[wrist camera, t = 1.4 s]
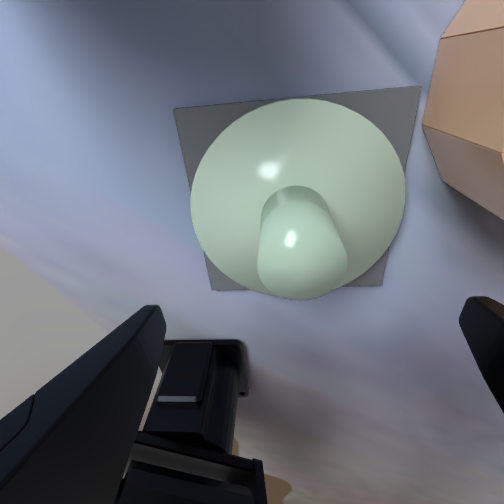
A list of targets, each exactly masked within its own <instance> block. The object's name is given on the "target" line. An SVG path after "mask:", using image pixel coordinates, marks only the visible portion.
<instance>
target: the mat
mask: <svg viewBox="0 0 504 504" xmlns="http://www.w3.org/2000/svg"><path fill="white" fill-rule="evenodd" d="M421 87H422V86H409V87H398V88H388V89H377V90H366V91H356V92H345V93H334V94H324V95H313V96H303V97H292V98H312V99H320V100H326V101H329V102H333V103H336V104H340V105H342V106H344V107H346V108H348V109H350V110H352V111H355V112H357V113H359V114H360V115H362V116H363V117H364V118H366V119H367V120H369V121H370V122H372V123H373V124H374V125H375V126H376V127H377V128H378V129H379V130H380V131H381V132H382V133H383V134H384V135H385V136H386V138H387V139H388V140H389V142H390V143H391V144H392V146H393V148H394V150H395V152H396V154H397V155H398V157H399V160H400V163H401V166H402V169H403V173H404V170H405V166H406V161H407V156H408V151H409V146H410V141H411V136H412V131H413V126H414V121H415V116H416V111H417V106H418V102H419V97H420V92H421ZM285 99H291V98H281V99H271V100H260V101H249V102H239V103H228V104H217V105H207V106H196V107H186V108H176V109H173V111H174V116H175V121H176V125H177V130H178V135H179V139H180V144H181V149H182V153H183V158H184V163H185V167H186V172H187V177H188V181H189V186H190V191H192V184H193V181H194V177H195V174H196V171H197V169H198V166H199V164H200V162H201V160H202V158H203V156H204V155H205V153H206V152H207V150H208V148H209V147H210V146H211V144H212V143H213V142H214V141H215V140H216V138H217V137H218V136H219V135H220V134H221V132H222V131H223V130H225V129H226V128H227V127H228V126H229V125H230V124H231V123H232V122H233V121H235V120H236V119H238V118H239V117H241V116H242V115H244V114H245V113H247V112H249V111H251V110H253V109H255V108H257V107H260V106H262V105H265V104H268V103H272V102H275V101H279V100H285ZM388 249H389V247H388V248H387V250H386V251H385V252H384V254H383V255H382V256H381V257H380V258H379V259H378V260H377V261H376V262H375V263H374V264H373V265H372V267H370V268H369V269H368V270H367V271H365V272H364V273H363V274H362V275H360V276H359V277H357V278H355V279H354V280H352V281H351V282H349V283H347V284H345V285H343V286H341V287H347V286H381V284H382V279H383V274H384V269H385V264H386V259H387V254H388ZM203 252H204V250H203ZM204 256H205V261H206V266H207V270H208V275H209V280H210V284H211V289H212V290H244V289H249V288H247V287H244V286H242V285H240V284H239V283H237V282H235V281H234V280H232V279H230V278H229V277H228V276H226V275H225V274H224V273H222V272H221V271H220V270H219V269H218V268H217V267H216V266H215V265H214V264H213V263H212V261H211V260H210V259H209V258H208V256H207V255H206V253H205V252H204Z"/></svg>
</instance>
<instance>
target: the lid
mask: <svg viewBox="0 0 504 504" xmlns="http://www.w3.org/2000/svg"><path fill="white" fill-rule="evenodd" d="M405 200H406V185H405V179H404V173H403V169H402V166H401V163H400V160H399V157H398V155H397V154H396V152H395V150H394V148H393V146H392V144H391V143H390V142H389V140H388V139H387V138H386V136H385V135H384V134H383V133H382V132H381V131H380V130H379V129H378V128H377V127H376V126H375V125H374V124H373V123H372V122H370V121H369V120H367V119H366V118H364V117H363V116H362V115H360V114H359V113H357V112H355V111H352V110H350V109H348V108H346V107H344V106H342V105H340V104H336V103H333V102H329V101H326V100H320V99H312V98H291V99H285V100H279V101H275V102H272V103H268V104H265V105H262V106H260V107H257V108H255V109H253V110H251V111H249V112H247V113H245V114H244V115H242V116H241V117H239V118H238V119H236V120H235V121H233V122H232V123H231V124H230V125H229V126H228V127H227V128H226V129H225V130H223V131H222V132H221V134H220V135H219V136H218V137H217V138H216V140H215V141H214V142H213V143H212V144H211V146H210V147H209V148H208V150H207V152H206V153H205V155H204V156H203V158H202V160H201V162H200V164H199V166H198V169H197V171H196V174H195V177H194V181H193V184H192V191H191V198H190V202H191V217H192V224H193V227H194V230H195V234H196V236H197V239H198V241H199V243H200V245H201V247H202V249H203V250H204V252H205V253H206V255H207V256H208V258H209V259H210V260H211V261H212V263H213V264H214V265H215V266H216V267H217V268H218V269H219V270H220V271H221V272H222V273H224V274H225V275H226V276H228V277H229V278H230V279H232V280H234V281H235V282H237V283H239V284H240V285H242V286H244V287H247V288H249V289H251V290H254V291H257V292H260V293H264V294H268V295H273V296H280V297H283V298H286V299H291V300H309V299H314V298H318V297H320V296H323V295H325V294H327V293H328V292H330V291H332V290H333V289H336V288H338V287H341V286H343V285H345V284H347V283H349V282H351V281H352V280H354V279H355V278H357V277H359V276H360V275H362V274H363V273H364V272H365V271H367V270H368V269H369V268H370V267H372V265H373V264H374V263H375V262H376V261H377V260H378V259H379V258H380V257H381V256H382V255H383V254H384V252H385V251H386V250H387V248H388V247H389V245H390V244H391V242H392V240H393V239H394V237H395V235H396V233H397V230H398V228H399V226H400V223H401V220H402V216H403V213H404V207H405Z"/></svg>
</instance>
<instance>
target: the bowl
mask: <svg viewBox="0 0 504 504" xmlns="http://www.w3.org/2000/svg"><path fill="white" fill-rule="evenodd" d="M441 38H442V39H440V42H439V47H438V51H437V56H436V61H435V65H434V70H433V74H432V79H431V84H430V88H429V93H428V98H427V102H426V107H425V111H424V116H423V121H422V127H423V129H424V132H425V135H426V138H427V141H428V143H429V146H430V149H431V152H432V154H433V157H434V160H435V163H436V165H437V168H438V171H439V174H440V176H441V179H442V181H444V182H445V183H447V184H448V185H450V186H451V187H453V188H454V189H456V190H458V191H459V192H461V193H462V194H464V195H465V196H467V197H468V198H470V199H471V200H473V201H474V202H476V203H477V204H479V205H481V206H482V207H484V208H485V209H487V210H488V211H490V212H491V213H493V214H494V215H496V216H497V217H499V218H500V219H502V220H504V0H466V1H465V3H464V4H463V5H462V7H461V8H460V10H459V11H458V13H457V14H456V16H455V17H454V19H453V20H452V22H451V23H450V25H449V26H448V28H447V29H446V31H445V32H444V34H443V35H442V37H441Z"/></svg>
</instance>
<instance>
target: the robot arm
mask: <svg viewBox="0 0 504 504" xmlns="http://www.w3.org/2000/svg"><path fill="white" fill-rule="evenodd" d="M459 324H460V327H461V329H462V332H463V334H464V336H465V338H466V341H467V343H468V345H469V347H470V350H471V352H472V354H473V356H474V359H475V361H476V363H477V365H478V367H479V370H480V372H481V374H482V376H483V378H484V380H485V381H486V383H487V385H488V387H489V389H490V390H491V392H492V394H493V395H494V397H495V399H496V401H497V402H498V404H499V406H500V408H501V409H502V411H503V413H504V305H503V304H501V303H499V302H497V301H495V300H493V299H491V298H489V297H486V296H473V297H469V298H468V299H467V300H466V302H465V305H464V307H463V310H462V312H461V314H460V317H459ZM165 333H166V322H165V319H164V316H163V313H162V311H161V308H160V306H159V305H145V306H144V307H142V308H141V309H140V310H139V311H137V312H136V313H135V314H133V315H132V316H131V317H130V318H128V319H127V320H126V321H125V322H123V323H122V324H121V325H120V326H118V327H117V328H116V329H115V330H113V331H112V332H111V333H110V334H108V335H107V336H106V337H105V338H104V339H102V340H101V341H99V342H98V343H97V344H96V345H95V346H93V347H92V348H91V349H89V351H87V352H86V353H84V354H83V355H82V356H81V357H79V358H78V359H77V360H76V361H74V362H73V363H72V364H71V365H69V366H68V367H67V368H66V369H64V370H63V371H62V372H61V373H59V374H58V375H57V376H55V377H54V378H53V379H52V380H50V381H49V382H48V383H47V384H45V385H44V386H43V387H42V388H40V389H39V390H38V391H37V392H36V393H35V394H33V395H31V396H30V397H29V398H28V399H26V400H25V401H24V402H23V403H21V404H20V405H19V406H18V407H16V408H15V409H14V410H12V411H11V412H10V413H8V414H7V415H6V416H5V417H3V418H2V419H1V420H0V504H267V496H266V489H265V481H264V471H263V463H262V461H261V460H258V459H254V458H253V459H252V460H251V459H247V458H243V457H239V456H235V455H232V447H233V438H234V428H235V419H236V409H237V399H238V397H246V396H248V392H249V388H248V381H247V375H246V369H245V363H244V357H243V351H242V344H241V342H239V341H237V340H173V341H164V338H165ZM158 366H159V367H160V369H161V372H162V377H161V380H160V383H159V386H158V388H157V391H156V394H155V397H154V399H153V402H152V405H151V408H150V411H149V413H148V416H147V419H146V422H145V425H144V427H143V430H142V431H138V429H139V426H140V423H141V420H142V417H143V414H144V411H145V408H146V405H147V402H148V399H149V396H150V393H151V390H152V387H153V384H154V381H155V378H156V374H157V370H158ZM124 473H126V475H125V477H124V479H123V478H122V477H123V474H124Z"/></svg>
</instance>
